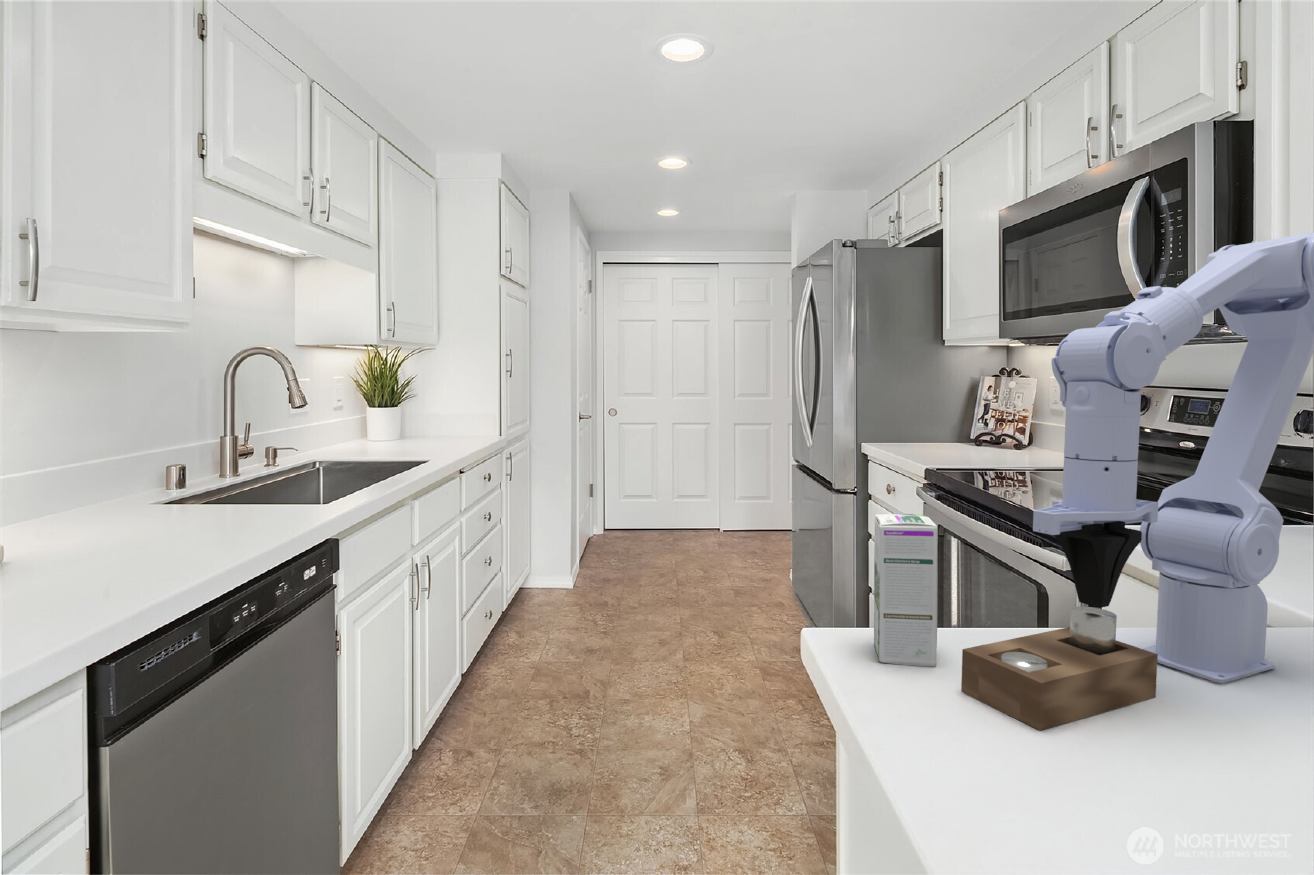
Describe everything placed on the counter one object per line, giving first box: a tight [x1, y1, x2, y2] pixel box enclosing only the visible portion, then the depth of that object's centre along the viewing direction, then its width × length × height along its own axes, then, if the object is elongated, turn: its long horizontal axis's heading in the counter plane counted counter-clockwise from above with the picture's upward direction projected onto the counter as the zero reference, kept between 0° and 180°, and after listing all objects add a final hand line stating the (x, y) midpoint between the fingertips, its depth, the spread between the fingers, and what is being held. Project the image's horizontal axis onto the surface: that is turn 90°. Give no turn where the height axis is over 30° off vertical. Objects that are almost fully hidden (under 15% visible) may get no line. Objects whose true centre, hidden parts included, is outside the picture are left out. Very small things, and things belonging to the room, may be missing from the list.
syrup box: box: [873, 513, 939, 668], centre depth 72 cm, size 6×6×14 cm
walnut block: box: [960, 626, 1158, 731], centre depth 63 cm, size 15×8×4 cm, turn 114°
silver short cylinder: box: [1069, 606, 1118, 656], centre depth 65 cm, size 4×4×4 cm
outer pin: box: [1001, 652, 1048, 672], centre depth 61 cm, size 4×4×4 cm
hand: (1093, 604), depth 65 cm, fingers closed
